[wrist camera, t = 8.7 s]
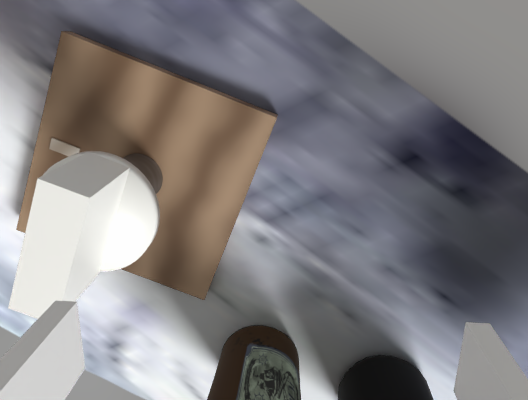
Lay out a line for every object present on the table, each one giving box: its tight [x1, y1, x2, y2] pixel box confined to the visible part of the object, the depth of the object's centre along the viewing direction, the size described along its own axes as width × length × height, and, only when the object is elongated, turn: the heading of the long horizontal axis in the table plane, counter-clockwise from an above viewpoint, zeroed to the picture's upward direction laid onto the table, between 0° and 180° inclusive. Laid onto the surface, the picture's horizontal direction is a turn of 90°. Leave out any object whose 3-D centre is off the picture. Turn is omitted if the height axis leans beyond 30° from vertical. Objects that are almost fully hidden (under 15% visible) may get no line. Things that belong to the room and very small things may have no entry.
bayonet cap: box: [8, 151, 160, 319], centre depth 36 cm, size 12×10×9 cm
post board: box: [16, 31, 277, 300], centre depth 45 cm, size 22×22×12 cm
